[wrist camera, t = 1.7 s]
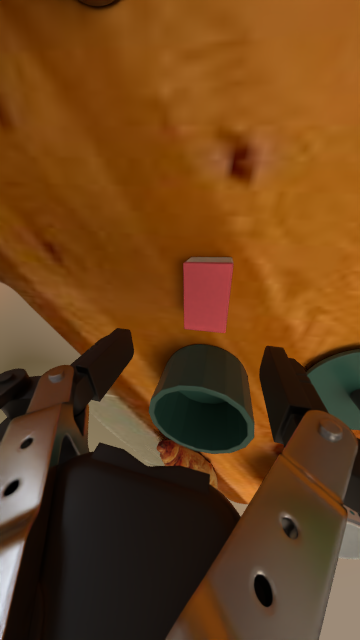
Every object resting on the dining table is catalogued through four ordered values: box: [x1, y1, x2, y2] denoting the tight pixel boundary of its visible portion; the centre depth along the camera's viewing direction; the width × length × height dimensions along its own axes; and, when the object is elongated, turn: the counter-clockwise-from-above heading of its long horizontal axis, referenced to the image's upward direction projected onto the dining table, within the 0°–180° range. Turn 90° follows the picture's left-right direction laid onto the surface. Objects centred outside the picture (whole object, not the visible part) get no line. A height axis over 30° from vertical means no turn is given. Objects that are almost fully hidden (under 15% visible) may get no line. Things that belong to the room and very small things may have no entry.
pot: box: [149, 344, 254, 454], centre depth 23 cm, size 12×12×8 cm
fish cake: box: [183, 257, 233, 333], centre depth 18 cm, size 7×4×4 cm, turn 1°
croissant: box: [157, 440, 218, 490], centre depth 37 cm, size 21×10×8 cm, turn 38°
